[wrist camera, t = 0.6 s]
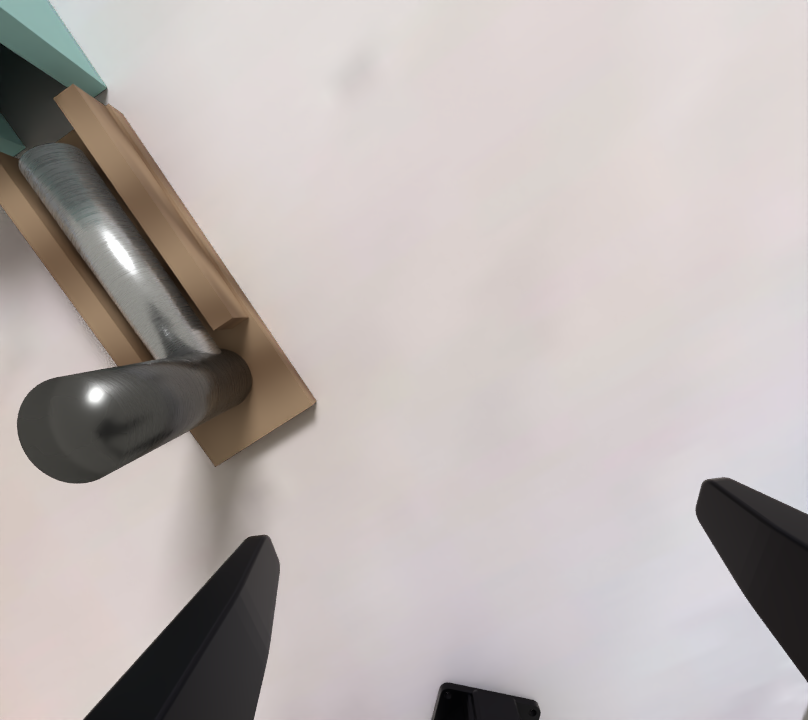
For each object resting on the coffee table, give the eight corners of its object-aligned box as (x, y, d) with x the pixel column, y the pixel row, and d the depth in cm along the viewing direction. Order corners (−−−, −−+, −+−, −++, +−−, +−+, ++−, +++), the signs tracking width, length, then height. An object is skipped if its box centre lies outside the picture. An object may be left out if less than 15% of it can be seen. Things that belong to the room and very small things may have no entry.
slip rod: (263, 388, 22) (149, 447, 12) (214, 419, 22) (63, 502, 12) (103, 155, 20) (-172, 11, 11) (52, 191, 21) (-262, 82, 11)
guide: (316, 401, 23) (303, 414, 20) (223, 460, 24) (196, 481, 21) (122, 113, 21) (76, 81, 18) (25, 183, 22) (-35, 163, 19)
